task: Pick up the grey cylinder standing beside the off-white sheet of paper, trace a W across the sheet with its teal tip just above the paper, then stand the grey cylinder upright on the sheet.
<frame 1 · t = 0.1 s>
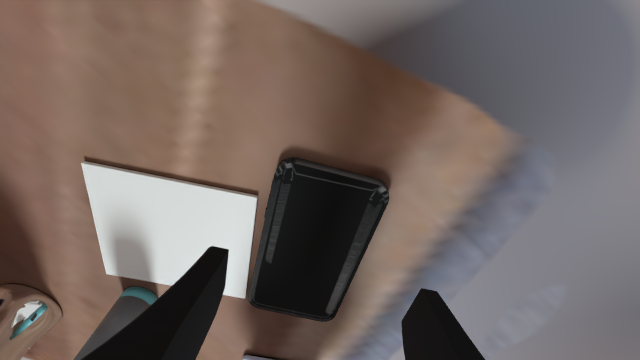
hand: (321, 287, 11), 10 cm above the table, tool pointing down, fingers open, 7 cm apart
grey cylinder: (141, 298, 28), on the table
paper: (175, 237, 24), on the table
phone: (310, 244, 24), on the table
beer glass: (31, 302, 30), on the table
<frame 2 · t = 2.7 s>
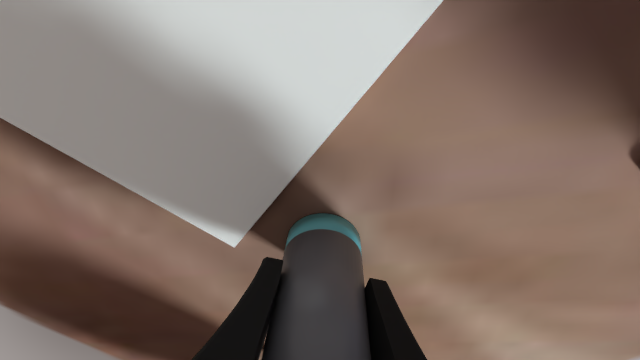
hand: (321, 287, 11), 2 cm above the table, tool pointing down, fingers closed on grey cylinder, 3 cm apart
grey cylinder: (323, 242, 13), on the table, touching gripper
paper: (177, 45, 10), on the table
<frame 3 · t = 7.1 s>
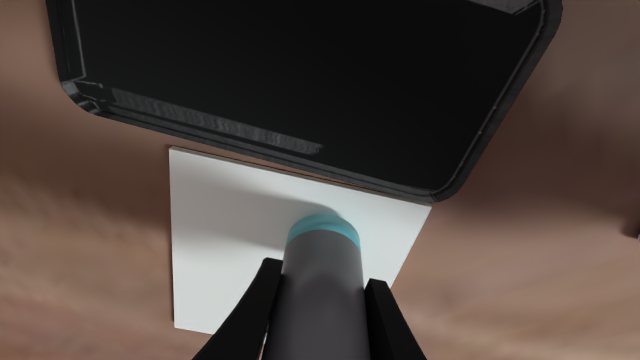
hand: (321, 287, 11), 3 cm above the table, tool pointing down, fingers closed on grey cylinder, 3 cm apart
grey cylinder: (323, 243, 13), point 1 cm above the table, touching gripper
paper: (282, 273, 16), on the table
phone: (293, 52, 11), on the table
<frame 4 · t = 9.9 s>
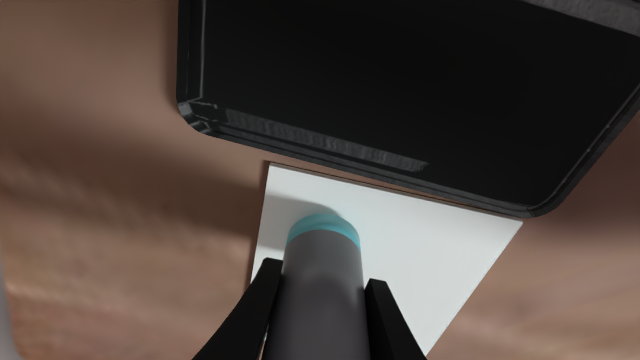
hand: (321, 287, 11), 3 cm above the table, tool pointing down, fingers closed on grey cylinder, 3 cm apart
grey cylinder: (323, 243, 13), point 1 cm above the table, touching gripper
paper: (358, 284, 16), on the table
phone: (403, 72, 11), on the table
when the fingers open (4 cm above the table, at t = 12.0 s): grey cylinder stays where it is, resting on paper.
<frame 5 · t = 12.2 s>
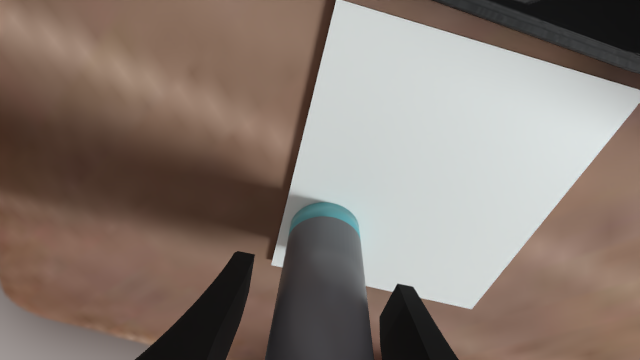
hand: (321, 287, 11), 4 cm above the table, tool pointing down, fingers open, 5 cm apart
grey cylinder: (324, 230, 14), resting on paper
paper: (420, 191, 13), on the table
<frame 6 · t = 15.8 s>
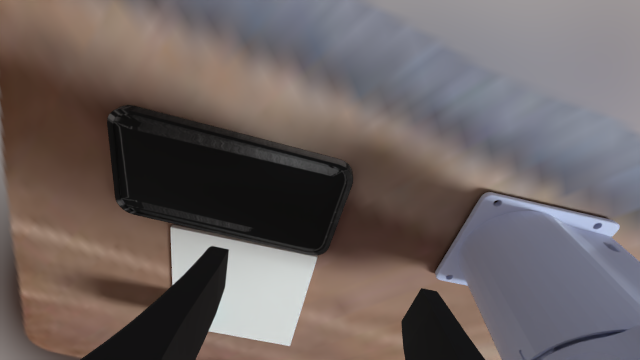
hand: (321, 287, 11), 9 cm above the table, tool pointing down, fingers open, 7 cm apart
paper: (239, 291, 26), on the table
phone: (235, 181, 21), on the table
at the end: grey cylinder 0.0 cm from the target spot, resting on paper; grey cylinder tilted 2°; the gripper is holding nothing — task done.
